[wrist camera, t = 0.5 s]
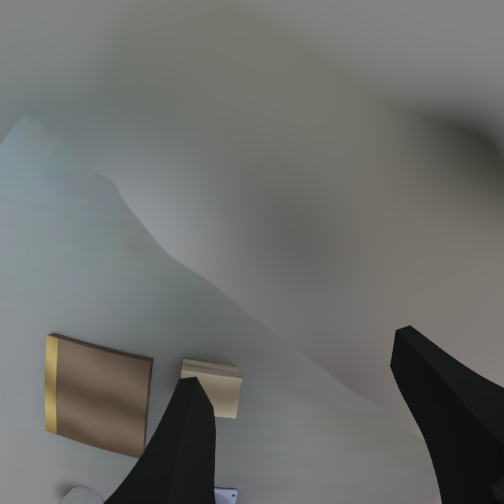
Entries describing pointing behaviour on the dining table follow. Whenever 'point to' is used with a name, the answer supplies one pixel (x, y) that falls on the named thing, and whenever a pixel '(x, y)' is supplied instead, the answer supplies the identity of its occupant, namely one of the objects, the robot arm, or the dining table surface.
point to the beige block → (216, 384)
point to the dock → (97, 395)
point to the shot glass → (81, 497)
